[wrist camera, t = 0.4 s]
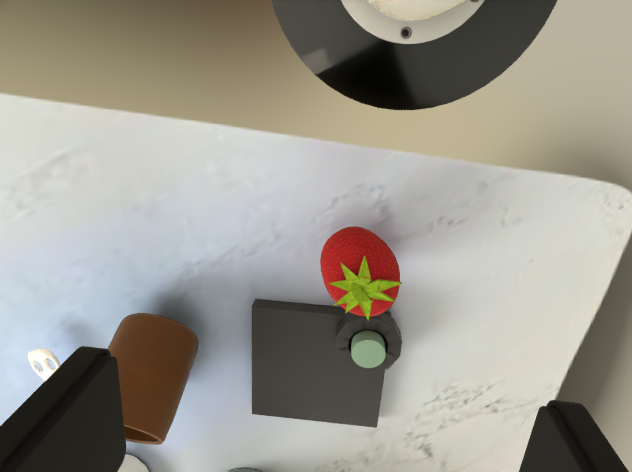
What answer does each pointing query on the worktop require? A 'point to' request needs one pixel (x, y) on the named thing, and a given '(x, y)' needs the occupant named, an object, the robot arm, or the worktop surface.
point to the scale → (316, 363)
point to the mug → (151, 373)
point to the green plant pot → (244, 470)
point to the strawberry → (360, 271)
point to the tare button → (368, 349)
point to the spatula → (131, 466)
